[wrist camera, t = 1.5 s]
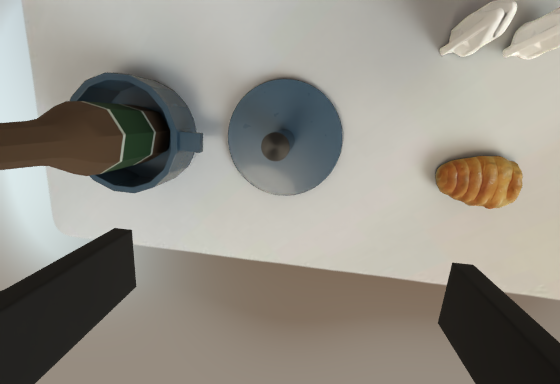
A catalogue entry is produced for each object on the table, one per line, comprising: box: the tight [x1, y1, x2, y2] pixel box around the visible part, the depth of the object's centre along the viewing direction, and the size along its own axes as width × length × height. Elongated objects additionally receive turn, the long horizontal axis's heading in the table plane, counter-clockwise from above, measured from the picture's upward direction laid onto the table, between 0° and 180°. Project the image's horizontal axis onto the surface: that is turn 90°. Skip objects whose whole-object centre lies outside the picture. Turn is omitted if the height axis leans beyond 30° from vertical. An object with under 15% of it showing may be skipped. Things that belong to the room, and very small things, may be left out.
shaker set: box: [439, 0, 560, 59], centre depth 29 cm, size 12×4×11 cm, turn 85°
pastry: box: [435, 156, 523, 209], centre depth 36 cm, size 9×7×4 cm
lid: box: [228, 79, 342, 195], centre depth 34 cm, size 16×16×11 cm
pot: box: [70, 73, 203, 193], centre depth 38 cm, size 15×20×6 cm
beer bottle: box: [0, 101, 170, 176], centre depth 30 cm, size 8×8×24 cm
